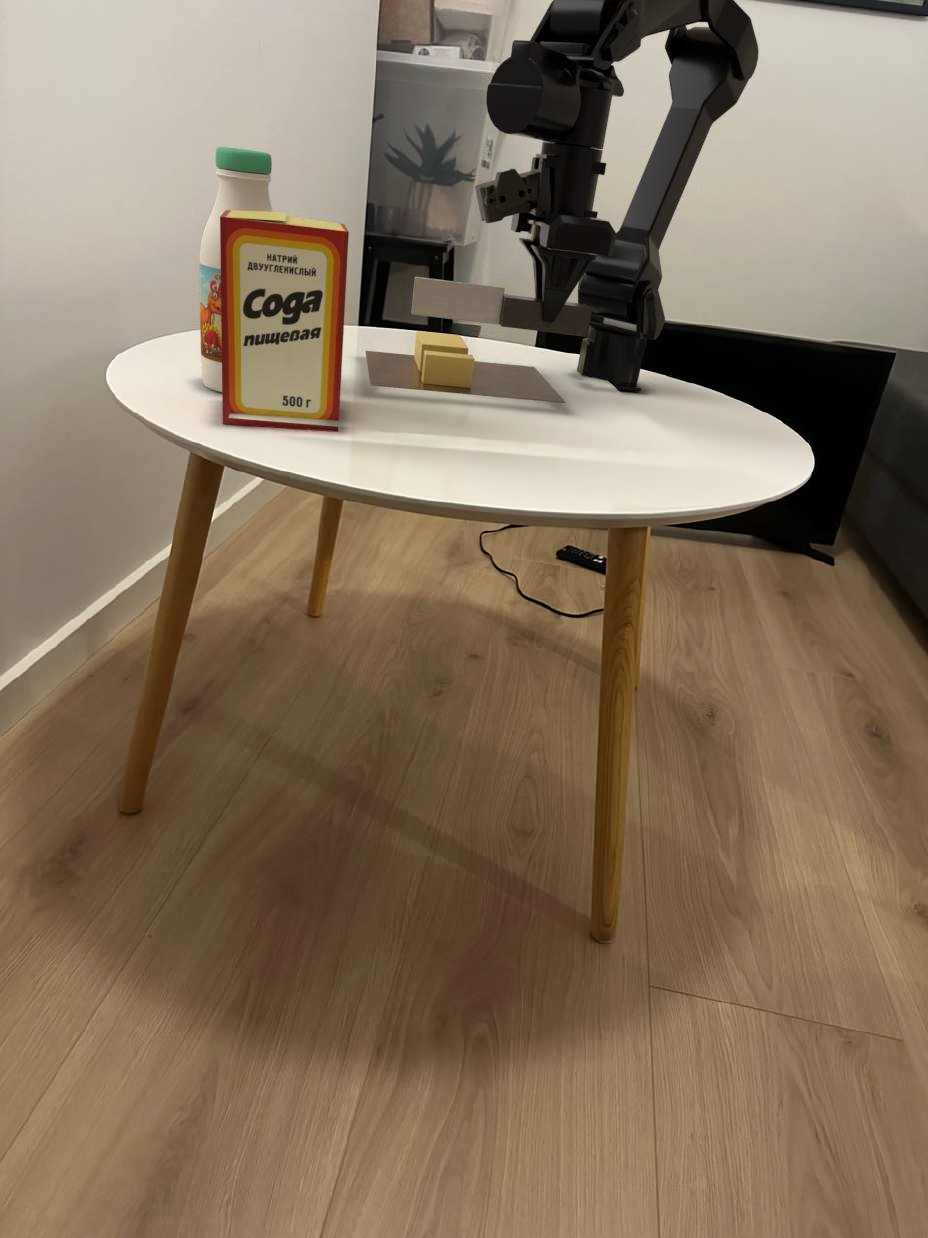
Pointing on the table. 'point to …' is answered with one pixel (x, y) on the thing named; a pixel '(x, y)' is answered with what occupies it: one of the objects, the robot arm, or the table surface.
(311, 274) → the baking soda box
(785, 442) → the table surface
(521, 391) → the board
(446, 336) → the butter
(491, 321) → the knife
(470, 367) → the butter slice
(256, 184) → the milk bottle
